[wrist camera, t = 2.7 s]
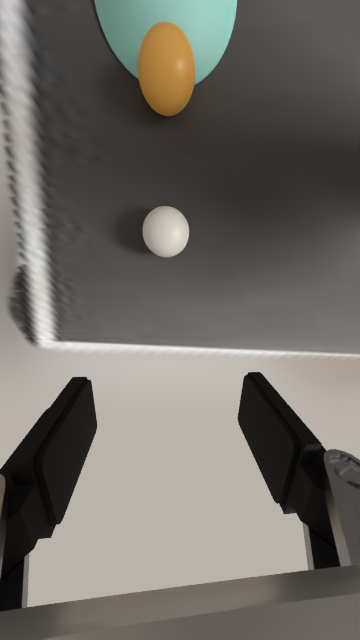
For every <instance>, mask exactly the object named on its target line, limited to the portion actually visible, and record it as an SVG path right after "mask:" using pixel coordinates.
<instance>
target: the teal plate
mask: <svg viewBox="0 0 360 640" xmlns="http://www.w3.org/2000/svg"><path fill="white" fill-rule="evenodd" d="M94 2H95V6H96V11H97V14H98V18H99V21H100V24H101V27H102V30H103V32H104V34H105V37H106V39H107V41H108V43H109V45H110V47H111V49H112V50H113V52H114V53H115V55H116V56H117V58H118V60H119V61H120V62H121V63H122V64H123V66H124V67H125V68H126V69H127V70H128V71H129V72H130V73H131V74H132V75H133V76H134V77H136V78H137V79H138V80H139V77H138V55H139V50H140V46H141V43H142V40H143V38H144V36H145V34H146V33H147V31H148V30H149V29H150V28H151V27H152V26H153V25H154V24H156V23H158V22H162V21H168V22H172V23H174V24H176V25H177V26H178V27H180V28H181V29H182V31H183V32H184V33H185V35H186V36H187V38H188V40H189V42H190V44H191V47H192V50H193V54H194V59H195V83H194V85H196V84H198V83H199V82H201V81H202V80H203V79H205V78H206V77H207V76H208V75H209V74H210V73H211V72H212V71H213V69H214V68H215V67H216V65H217V64H218V63H219V61H220V59H221V57H222V56H223V54H224V52H225V49H226V47H227V45H228V42H229V39H230V36H231V33H232V30H233V25H234V21H235V15H236V7H237V0H94Z"/></svg>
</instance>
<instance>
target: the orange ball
mask: <svg viewBox="0 0 360 640" xmlns="http://www.w3.org/2000/svg"><path fill="white" fill-rule="evenodd" d="M138 77H139V83H140V87H141V90H142V93H143V95H144V97H145V99H146V101H147V102H148V104H149V105H150V107H151V108H152V109H153V110H154V111H156V112H157V113H159V114H161V115H163V116H173V115H175V114H177V113H179V112H180V111H182V110H183V109H184V107H185V106H186V105H187V103H188V101H189V100H190V97H191V95H192V92H193V88H194V83H195V59H194V54H193V50H192V47H191V44H190V42H189V40H188V38H187V36H186V35H185V33H184V32H183V31H182V29H181V28H180V27H178V26H177V25H176V24H174V23H172V22H168V21H162V22H158V23H156V24H154V25H153V26H152V27H151V28H150V29H149V30H148V31H147V33H146V34H145V36H144V38H143V40H142V43H141V46H140V50H139V55H138Z"/></svg>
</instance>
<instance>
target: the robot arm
mask: <svg viewBox="0 0 360 640" xmlns="http://www.w3.org/2000/svg"><path fill="white" fill-rule="evenodd" d="M238 422H239V425H240V427H241V429H242V432H243V434H244V436H245V438H246V441H247V442H248V445H249V447H250V449H251V451H252V453H253V456H254V458H255V460H256V462H257V465H258V466H259V469H260V471H261V473H262V475H263V478H264V480H265V482H266V484H267V486H268V488H269V491H270V493H271V495H272V497H273V499H274V501H275V502H276V503H279V504H280V506H281V508H282V510H283V513H284V514H290V513H297V515H298V517H299V519H300V520H301V521H302V522H303V529H304V538H305V546H306V554H307V563H308V570H307V571H299V572H291V573H283V574H275V575H268V576H259V577H250V578H243V579H235V580H228V581H220V582H212V583H204V584H196V585H189V586H181V587H174V588H166V589H159V590H151V591H143V592H136V593H128V594H121V595H114V596H106V597H100V598H92V599H85V600H77V601H70V602H63V603H55V604H48V605H41V606H34V607H27V598H28V572H29V552H31V551H32V550H33V549H34V547H35V545H36V543H37V540H38V539H42V538H51V536H52V533H53V531H54V528H55V526H56V524H60V523H61V521H62V519H63V517H64V515H65V512H66V509H67V507H68V504H69V502H70V499H71V496H72V494H73V491H74V488H75V486H76V483H77V480H78V478H79V475H80V473H81V469H82V467H83V465H84V462H85V459H86V457H87V454H88V451H89V449H90V446H91V443H92V441H93V438H94V435H95V433H96V429H97V420H96V413H95V405H94V398H93V391H92V384H91V380H87V378H86V377H73V378H72V379H71V380H70V381H69V383H68V384H67V385H66V387H65V388H64V389H63V391H62V392H61V393H60V395H59V396H58V397H57V399H56V400H55V401H54V403H53V404H52V405H51V407H50V408H48V409H47V410H46V411H45V412H44V413H43V414H42V416H41V417H40V418H39V419H38V421H37V422H36V423H35V425H34V426H33V428H32V429H31V430H30V431H29V433H28V434H27V435H26V436H25V438H24V439H23V441H22V442H21V443H20V444H19V446H18V447H17V448H16V450H15V451H14V452H13V454H12V455H11V456H10V457H9V459H8V460H7V462H6V463H5V464H4V466H3V467H2V468H1V469H0V640H360V460H359V459H358V458H356V457H354V456H353V455H351V454H348V453H346V452H344V451H340V450H336V449H335V450H334V449H332V450H328V451H326V450H325V448H324V447H323V446H322V445H321V443H320V442H319V440H318V439H317V438H316V437H315V436H314V434H313V433H312V432H311V431H310V430H309V428H308V427H307V426H306V425H305V424H304V423H303V422H302V420H301V419H300V418H299V417H298V416H297V414H296V413H295V412H294V411H293V410H292V409H291V407H290V406H289V405H288V404H287V403H286V402H285V400H284V399H283V398H282V397H281V396H280V395H279V393H278V392H277V391H276V390H275V389H274V388H273V386H272V385H271V384H270V383H269V382H268V381H267V379H266V378H265V377H264V376H263V375H262V374H261V373H260V372H249V373H248V374H247V375H245V376H244V380H243V388H242V394H241V400H240V406H239V413H238Z"/></svg>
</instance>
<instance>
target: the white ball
mask: <svg viewBox="0 0 360 640" xmlns="http://www.w3.org/2000/svg"><path fill="white" fill-rule="evenodd" d="M143 238H144V241H145V243H146V245H147V247H148V248H149V249H150V250H151V251H152V252H153V253H154V254H156V255H158V256H161V257H172V256H175V255H177V254H178V253H180V252H181V251H182V250H183V249H184V247H185V246H186V244H187V242H188V238H189V226H188V223H187V220H186V219H185V217H184V216H183V214H182V213H181V212H180V211H178V210H177V209H175V208H173V207H170V206H161V207H157V208H155V209H154V210H152V211H151V212H150V213H149V214H148V215H147V217H146V218H145V221H144V224H143Z"/></svg>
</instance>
